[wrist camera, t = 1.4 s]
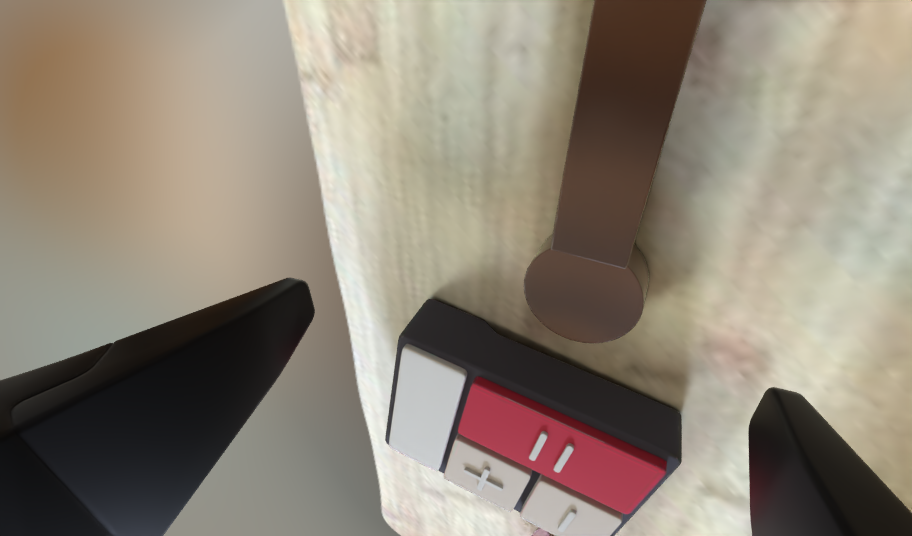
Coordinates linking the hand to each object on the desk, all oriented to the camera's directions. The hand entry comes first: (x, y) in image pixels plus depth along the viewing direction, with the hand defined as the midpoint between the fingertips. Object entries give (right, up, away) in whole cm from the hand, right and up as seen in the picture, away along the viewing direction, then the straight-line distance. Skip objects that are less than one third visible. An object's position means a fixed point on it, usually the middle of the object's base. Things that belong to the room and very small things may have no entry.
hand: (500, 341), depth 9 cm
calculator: (+3, -7, +19) cm, 21 cm away
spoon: (+6, +6, +9) cm, 12 cm away
